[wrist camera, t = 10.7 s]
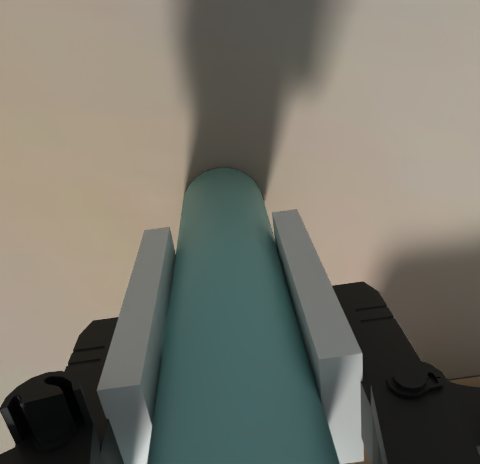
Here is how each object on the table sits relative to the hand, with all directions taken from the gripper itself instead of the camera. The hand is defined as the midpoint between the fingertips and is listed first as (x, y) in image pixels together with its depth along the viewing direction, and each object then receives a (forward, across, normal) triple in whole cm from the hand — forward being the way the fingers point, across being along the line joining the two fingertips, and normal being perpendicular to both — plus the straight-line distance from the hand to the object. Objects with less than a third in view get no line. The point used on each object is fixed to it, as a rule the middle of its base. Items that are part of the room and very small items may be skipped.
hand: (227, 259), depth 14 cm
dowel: (+5, 0, 0) cm, 5 cm away
